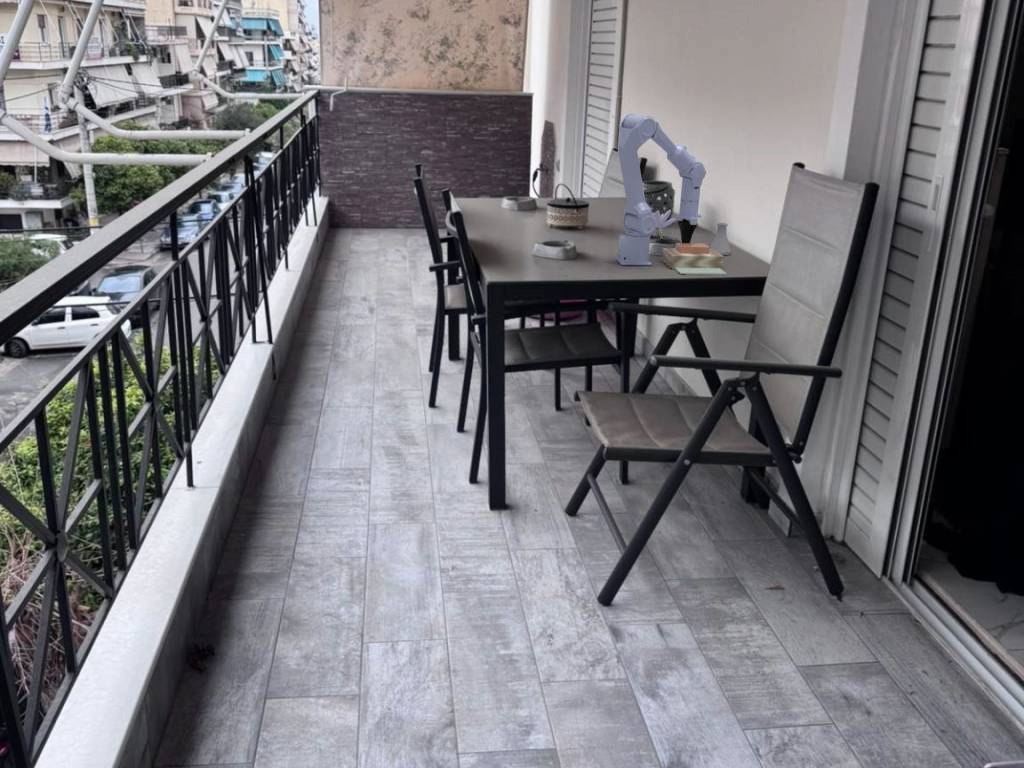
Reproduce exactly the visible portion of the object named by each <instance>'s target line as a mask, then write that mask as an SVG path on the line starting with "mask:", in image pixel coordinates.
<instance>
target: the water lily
mask: <svg viewBox="0 0 1024 768" xmlns="http://www.w3.org/2000/svg"><path fill="white" fill-rule="evenodd" d="M671 213H672V209H669V210H667V211H666V212H665V213H663V212H662V213H661V214H660V211H658V210H656V211H655V212H652V215H653V216H654V218H655V219H656V228H655V230H654V231H653V232H652V233H655V234H656V235H657V236H658V237H659V238H660V239H661V238H662V239H663V236H662V235H663V233H664V231H663V228H666V227H668V226H670V225H671V224H673V223H674V222H675V221H677V218H676V217H673V218H670V219H668V218H669V217H670V214H671Z"/></svg>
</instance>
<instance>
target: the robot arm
mask: <svg viewBox="0 0 1024 768" xmlns="http://www.w3.org/2000/svg"><path fill="white" fill-rule="evenodd" d="M618 127H619V138H618V143H617V152H618V153H617V154H618V158H619V163H620V169H621V175H622V181H623V186H624V187H623V188H624V192H625V193H624V194H625V197H626V198H625V199H626V204H627V205H626V206H625V207H624V208H623V218H622V225H623V228H624V229H625V233H622V234H621V233H620V234H619V235H618V239H617V240H618V242H617V254H616V261H617V262H618V264H619V265H620V266H652V262H650V260H649V256H650V255H649V254H650V253H649V252H650V242H651V236H652V234H653V233H654V232H653V231H654V230H655V228H656V219H655V218H654V216H653V215H652V208H651V207H650V206H649V204H648V203H647V202H646V196H645V191H644V185H643V179H642V173H641V172H642V171H641V167H640V160H639V154H638V151H639V150H640V148H641V147H642V146H643V145H644V144H645V143H646V142H647V141H648V140H650V139H651V140H652V141H653V142H654V143H655V144H656V145H657V146H658V147H660V148H661V149H662V150H663V151H664V152H665V153H667V154H666V159H667V160H668V161H669V162H670V163H671V164H672V166H674V167H675V169H676V170H678V174H679V176H680V177H681V178H682V179H681V181H682V182H681V191H680V201H679V210H678V211H679V212H678V216H677V217H678V218H680V219H682V220H676V222H677V224H678V228H679V232H680V238H681V243H691V241H692V238H693V234H694V232H695V230H696V228H697V227H698V225H699V223H698V219H700V218H702V214H699V205H700V203H699V202H700V195H701V186H702V184H703V180H704V179H705V177H706V176H707V175H706V174H707V170H706V168H705V165H704V164H703V163H701V162H700V161H697V160H696V156H694V155H692V154H691V153H690V152H689V151H688V148H687V147H686V145H682V144H675V142H674V141H673V139H671V137H669V136H668V134H667V133H666V132H665V131H664V130H663V128H662V127H661V126H660V123H659V122H658V121H656V120H655V118H654V117H652V116H650V115H638V114H633V113H628V114H626V115H625V116H624V118H623V119H622V120H621V122H620V123H619V125H618Z"/></svg>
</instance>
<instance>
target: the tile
mask: <svg viewBox="0 0 1024 768" xmlns="http://www.w3.org/2000/svg"><path fill="white" fill-rule="evenodd" d="M675 248H676V250H677V251H678V252H679V253H689V254H709V251H710V246H709V245H707V244H706V243H704V242H703V243H701V242H700V243H699V242H698V243H697V242H696V243H694V242H690V243H682V242H681V243H680V242H676V243H675Z"/></svg>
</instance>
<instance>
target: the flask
mask: <svg viewBox="0 0 1024 768" xmlns="http://www.w3.org/2000/svg"><path fill="white" fill-rule="evenodd" d="M716 223H717V222H716ZM716 225H717V229H716V233H715V235H714V238H713V240H712V243H711V244H710V246H709V247H710V249H714V250H716V251H717V252H718V253H720V254H721V255H723V256H729V255H732V251H731V248H730V244H729V240H728V235H727V226H728V225H729V224H728V223H726V222H718V223H717V224H716Z"/></svg>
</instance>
